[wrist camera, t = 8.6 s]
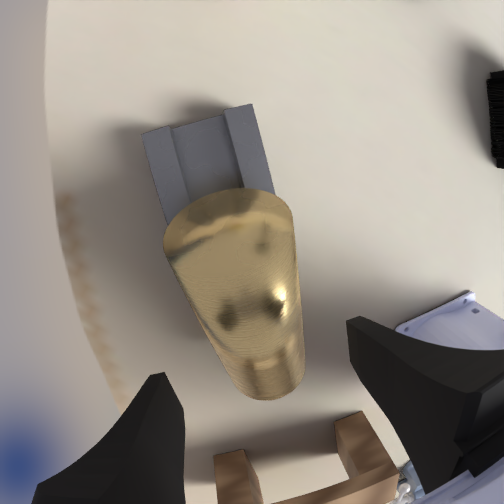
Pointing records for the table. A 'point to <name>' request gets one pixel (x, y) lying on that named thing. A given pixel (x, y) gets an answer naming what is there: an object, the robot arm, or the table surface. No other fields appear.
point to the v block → (207, 158)
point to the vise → (409, 486)
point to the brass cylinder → (243, 285)
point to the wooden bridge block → (331, 498)
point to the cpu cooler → (497, 113)
